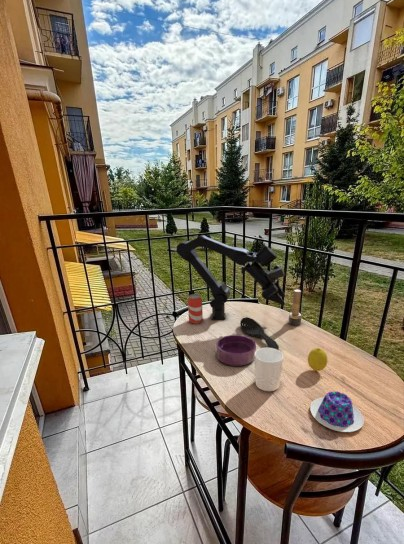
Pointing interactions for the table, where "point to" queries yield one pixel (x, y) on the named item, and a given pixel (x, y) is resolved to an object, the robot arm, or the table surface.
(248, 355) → the bowl
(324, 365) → the lemon
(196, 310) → the beverage can
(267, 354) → the white cup
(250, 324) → the hairbrush
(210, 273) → the robot arm
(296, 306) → the dish brush
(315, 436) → the table surface
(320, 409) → the blue patterned hat
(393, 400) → the table surface
